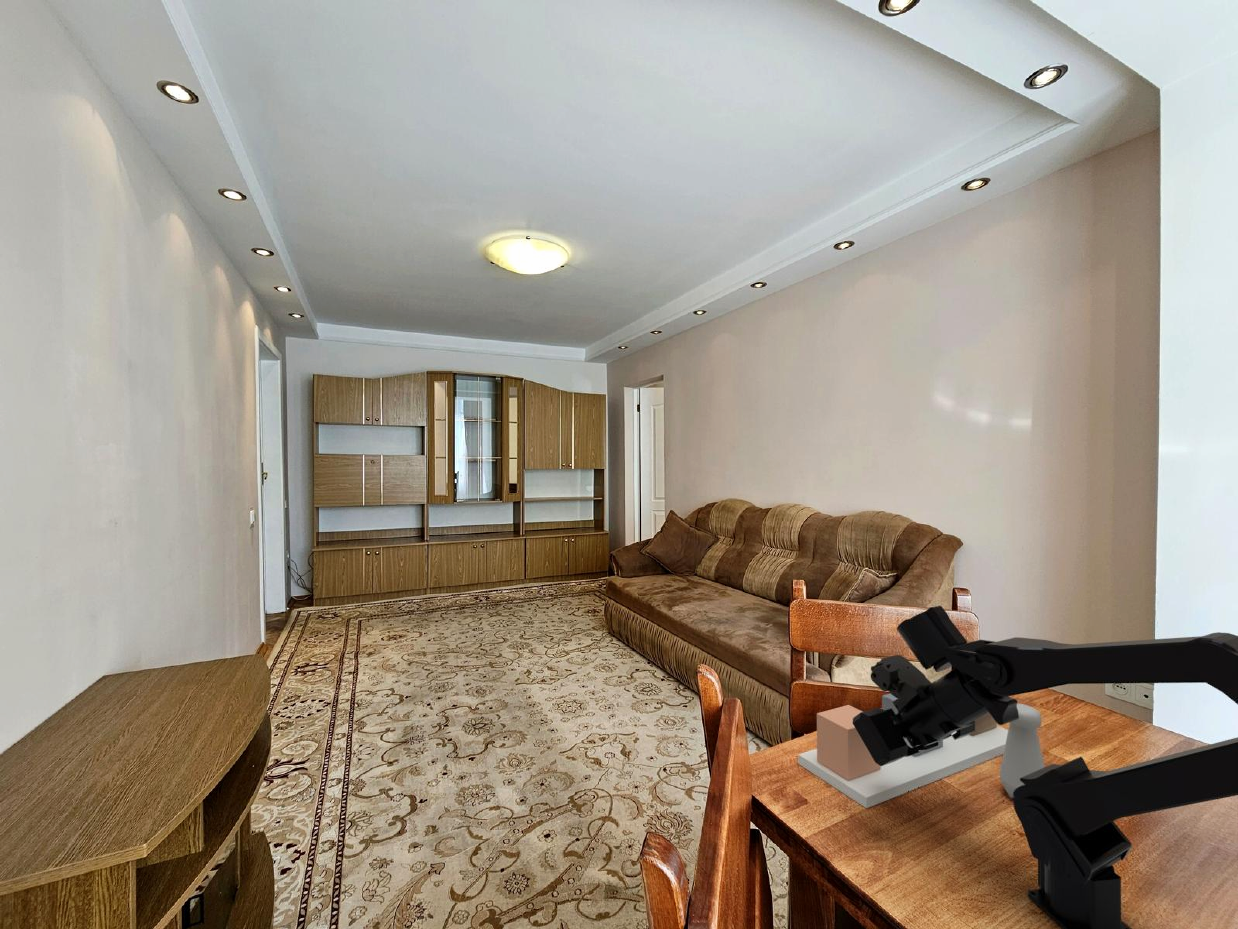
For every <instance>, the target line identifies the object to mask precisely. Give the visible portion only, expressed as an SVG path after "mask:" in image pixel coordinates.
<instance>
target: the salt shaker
mask: <svg viewBox="0 0 1238 929" xmlns="http://www.w3.org/2000/svg"><path fill="white" fill-rule="evenodd" d="M1017 709H1018V714H1019V719H1018V720H1015V721H1012V722H1009V723H1008V724H1009V726H1008V729H1007V730H1008V734H1007V739H1006V744H1005V749H1004V754H1002V759H1001V764H1000V769H999V774H998V775H999V780H1000V781H1001V784H1002V786H1003V787H1004V789H1005V790H1006V791H1005V792H1006V793H1007V794H1008V798H1011V799H1012V800H1013V792H1014V790H1015V789H1016V788H1018V787H1020V786H1022V785H1024V783H1023V782H1021V781H1020V778H1022V777H1024V776H1026V775H1028V774H1031V773H1033V772H1035V771H1038V770H1040V769H1042V768H1044V767H1046V765H1045V762H1044V756H1043V752H1042V751H1043V750H1042V747H1041V743H1040V740H1039V738H1040V737H1039V733H1038V730H1037V729H1040V728H1041V726H1042V720H1043V719H1042V714H1041V712H1040V711H1038V710H1037V709H1036V708H1035V707H1032V706H1030V705H1027V704H1022V703H1017Z"/></svg>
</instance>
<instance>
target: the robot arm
mask: <svg viewBox="0 0 1238 929" xmlns="http://www.w3.org/2000/svg"><path fill="white" fill-rule="evenodd" d="M896 631H897V632H898V634H899V635H900V637H901V638H902V639H903V641H904V642H905V644H906V645H907V647H908V648H909V649H910V652H911V653H912V654H913V655H914V657H915V658H916V660H917V661H918V663H920V665H921V667H922V668H923V669H925V670H926V671H927V670H929V669H931V668H933V670H934V671H935V672H936V673H939V672H942V671H944V670H947V669H950V668H952V667H953V669H952V670H950V671H949V672H947V673H945V674H944V675H942V676H941V677H940V678H938V679H937V680H935V681H933V682H931V681H930V679H928V678H927V676H926V675H925V673H923V672H922V671H921V670H920V669H918V667H917V666H915V665H914V664H913V663H912V662H911V661H909V660H908V659H907V658H905V657H904V656H902V655H899V654H895V655H892V656H891V655H890V656H886V657H882V658H881V659H880V660H879V661H877V662H876V664H875V665H872V666H871V667H870V671H871V673H870V680H871V682H873V683H874V684H875V685H876V686H877V687H878V688H879V689H880V690H881V691H882V692H888V693H889V694H890V693H891V694H892V695H893V696H894V697H896V698H898V699H896V700H895V701H893V702H892V703H893V704H894V706H895V707H896V709H897V710H898V714H895V713H894V711H893V709H892V708H891V709H887V710H883V709H882V708H880V707H875V708H872V709H867V710H865V711H862V712H861V713H859V714H858V715H857V716H855V717H854V718H853V722H852V723H853V725H854V727H855V728H856V730H857V732H858V734H859V735H860V737H861V739H862V740H863V742H864V744H865V746H866V747H867V749H868V751H869V753H870V754H871V756H872V758H873V759H874V761H875V763H877V764H878V765H880V766H884V765H886V764H889V763H892V762H895V761H897V760H899V759H901V758H903V757H908V756H911V755H914V754H916V753H919V750H928V749H930V748H933V747H936V746H938V741H941V740H944V739H947V738H949V737H950V736H952V737H953V738H954V740H956V739H959V738H962V737H965V736H967V735H969V734H971V733H972V732H974V731H975V721H974V720H976V719H978V718H980V717H981V716H983V715H985V714H987V713H990V714H991V716H992V717H993V718H994V720H995V721H996V723H997V725H998V726H1003V725H1006V724H1010V723H1009V722H1012V721H1015V720H1018V719H1019V714H1018V709H1017V704H1019V703H1018V702H1019V701H1018V700H1017V699H1016V698H1013V697H1012V696H1016V695H1017V696H1018V695H1022V694H1028V693H1033V692H1037V691H1041V690H1043V691H1044V690H1047V689H1051V688H1055V687H1059V686H1060V687H1061V686H1066V685H1076V684H1078V685H1083V684H1084V685H1085V684H1086V685H1088V684H1089V685H1090V684H1091V685H1092V684H1094V685H1095V684H1096V685H1097V684H1104V685H1105V684H1106V685H1107V684H1189V683H1190V684H1195V683H1197V684H1198V683H1199V684H1200V683H1201V684H1203V683H1205V684H1208V685H1209V686H1211V687H1212V688H1214V689H1216V690H1218V691H1219V692H1221V693H1223V694H1224V695H1225V696H1226V697H1228V698H1229V699H1230V700H1231V701H1232V702H1234V703H1235V704H1236V705H1238V635H1236V634H1232V633H1230V632H1217V631H1216V632H1212V633H1208V634H1206V635H1201V636H1200V635H1199V636H1185V637H1172V638H1171V637H1170V638H1167V637H1166V638H1157V639H1156V638H1154V639H1153V638H1152V639H1137V640H1136V639H1135V640H1125V641H1123V640H1120V641H1107V642H1092V643H1091V642H1090V643H1077V644H1071V643H1063V642H1062V643H1061V642H1058V641H1057V642H1056V641H1053V640H1052V641H1051V640H1047V639H1041V638H1040V639H1039V638H1028V637H1012V638H1006V639H1002V640H999V641H993V640H986V639H978V640H974V641H968V640H967V639H966V637H964V634H962V633H961V631H960V630H959V629H958V627H957V626H956V625H955V624H954V622H953V621H952V620H951V618H950V616H949V615H948V612H947V611H946V610H945V609H944V608H943V606H942V605H937V606H936V605H935V606H931V607H929V608H928V609H927V610H925V611H923V612H919V613H918V614H916V615H914V616H912V617H910V618H906V619H904V620H903V621H902V622H900V623H899V624H898V626H897V627H896ZM955 731H956V733H955V734H953V735H951V734H952V733H953V732H955ZM1020 781H1021V782H1023V783H1024V785H1022V786H1020V787H1018V788H1016V789H1015V790H1014V792H1013V799H1012V804H1013V809H1014V811H1015V813H1016V814H1015V815H1016V816H1017V818H1018V820H1019V821H1020V823H1021V826H1022V829H1023V832H1024V835H1025V839H1026V841H1027V844H1028V846H1029V847H1028V848H1029V849H1030V853H1031V856H1032V857H1033V858H1034V859H1035V860H1037V885H1038V887H1039V888H1037V889H1028V890H1027V897H1028V898H1029V899H1030V900H1031V901H1032V902H1034V903H1035V904H1036V905H1037V906H1038V908H1040V909H1041V910H1042V911H1043V912H1044V913H1045V914H1047V916H1049V917H1050V919H1051V920H1053V921H1054V922H1055V923H1056V924H1058V925H1059V927H1061V928H1062V929H1132V928H1131V927H1130V926H1129V925H1128V924H1127V923H1125V922H1124V921H1123V920H1122V877H1121V876H1120V875H1118V874H1117V873H1116V872H1115V868H1114V866H1113V865H1115V864H1116V863H1118V862H1119V861H1124V860H1125V859H1126V857H1127V856H1128V855H1129V853H1130V851H1131V849H1132V847H1133V845H1132V843H1131V841H1130V839H1129V838H1128V837H1127V836H1126V835H1125V834H1124V832H1123V831H1122V830H1121V828H1119V826H1118V825H1117V824H1116V823H1115V821H1116V820H1119V819H1122V818H1129V817H1133V816H1139V815H1143V814H1149V813H1154V812H1159V811H1163V810H1164V811H1165V810H1168V809H1174V808H1179V807H1185V806H1189V805H1194V804H1200V803H1205V802H1210V801H1211V802H1212V801H1214V800H1220V799H1225V798H1232V797H1237V796H1238V737H1233V738H1230V739H1225V740H1222V741H1218V742H1214V743H1211V744H1207V745H1203V746H1200V747H1199V746H1198V747H1195V748H1191V749H1188V750H1184V751H1180V752H1176V753H1172V754H1167V755H1165V756H1160V757H1158V758H1153V759H1149V760H1146V761H1140V762H1136V763H1133V764H1129V765H1126V766H1122V767H1118V768H1115V769H1111V770H1093V769H1090V768H1089V766H1088V765H1087V763H1086V762H1085V759H1084V757H1082V756H1078V757H1077V758H1074V759H1072V760H1070V761H1067V762H1066V763H1063V764H1057V763H1056V764H1055V763H1051V764H1049V765H1047V766H1045V767H1044V768H1042V769H1040V770H1038V771H1035V772H1033V773H1031V774H1028V775H1026V776H1024V777H1022V778H1020Z"/></svg>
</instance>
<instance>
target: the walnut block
mask: <svg viewBox="0 0 1238 929" xmlns="http://www.w3.org/2000/svg"><path fill="white" fill-rule="evenodd" d="M974 721H975V731H974V732H972V733H971V734H969V735H971V736H974V735H977V734H980V733H982V732H985V731H988V730H991V729H994V728H996V727H997V726H998V724H997V723H996V721H995V720H994V718H993V717H992V716H991V714H990V713H987V714H985V715H983V716H981V717H980V718H978V719H976V720H974Z"/></svg>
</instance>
